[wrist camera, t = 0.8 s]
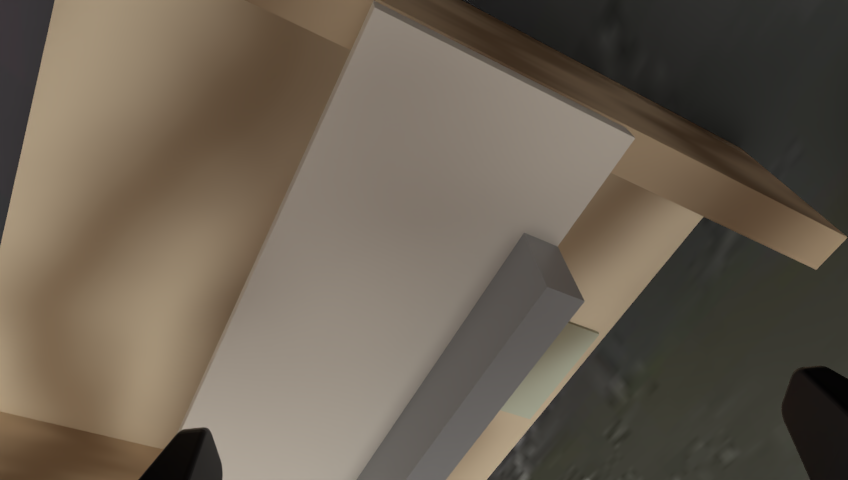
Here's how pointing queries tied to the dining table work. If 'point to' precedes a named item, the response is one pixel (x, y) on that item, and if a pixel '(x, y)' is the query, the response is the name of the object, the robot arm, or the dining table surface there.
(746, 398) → the dining table surface
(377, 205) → the lid
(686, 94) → the dining table surface
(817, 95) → the dining table surface
